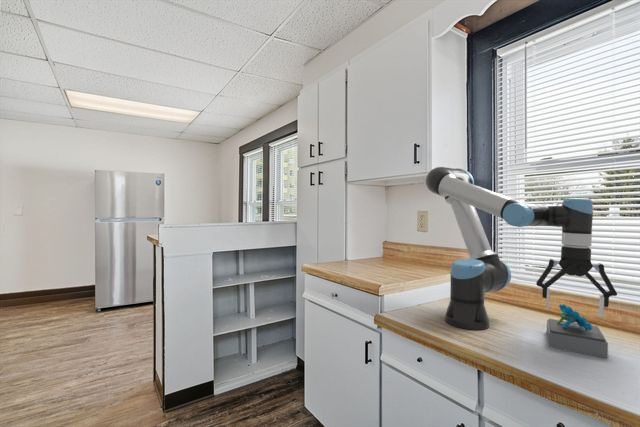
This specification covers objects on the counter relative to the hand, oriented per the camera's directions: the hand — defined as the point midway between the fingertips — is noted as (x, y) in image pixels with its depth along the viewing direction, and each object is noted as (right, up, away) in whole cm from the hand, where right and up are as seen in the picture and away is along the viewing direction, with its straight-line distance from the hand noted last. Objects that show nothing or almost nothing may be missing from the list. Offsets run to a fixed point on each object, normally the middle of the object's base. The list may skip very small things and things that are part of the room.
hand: (573, 312), depth 104 cm
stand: (0, -10, 0) cm, 10 cm away
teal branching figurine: (0, -5, 0) cm, 5 cm away
